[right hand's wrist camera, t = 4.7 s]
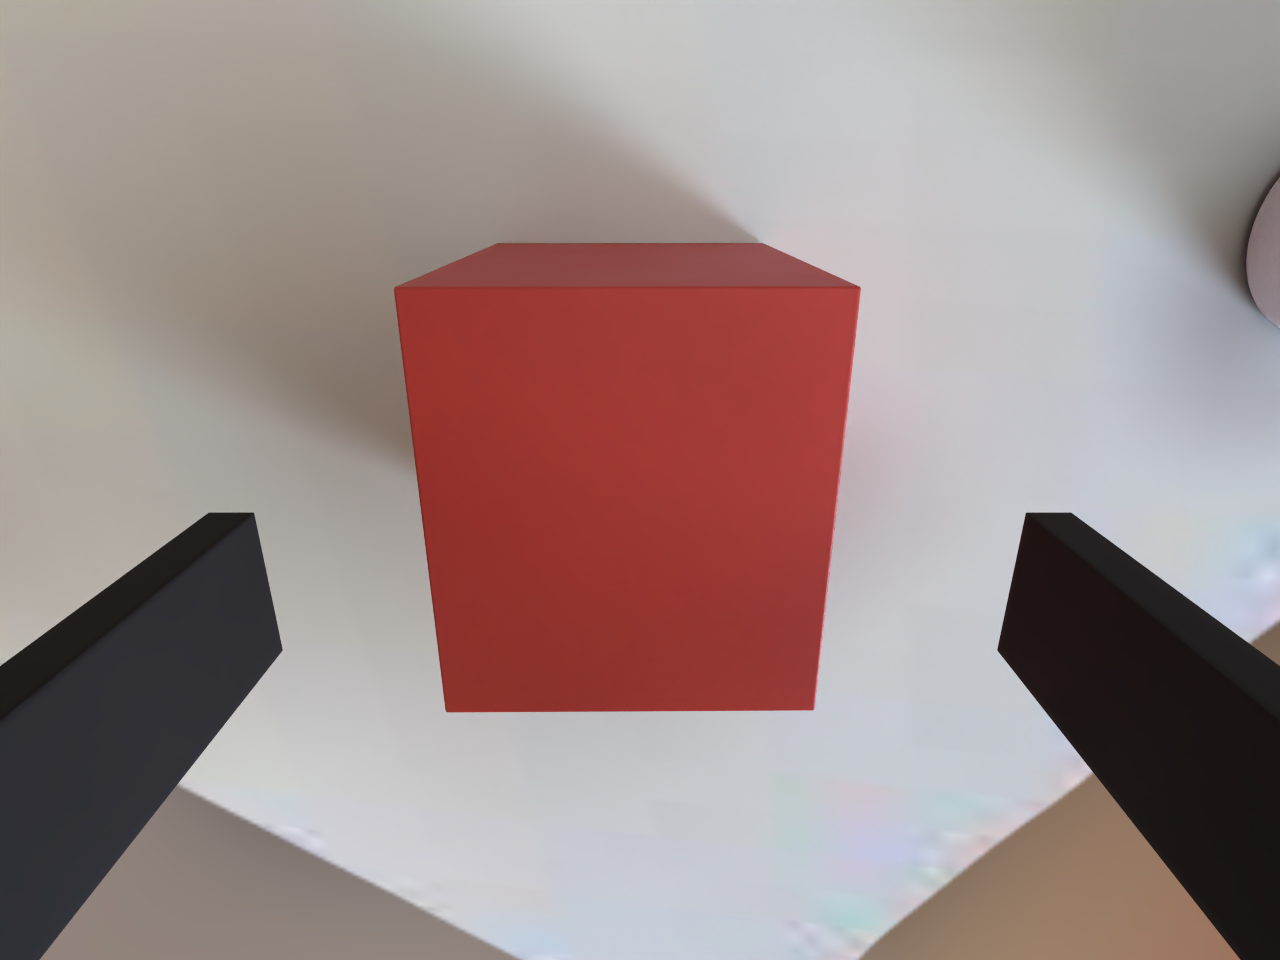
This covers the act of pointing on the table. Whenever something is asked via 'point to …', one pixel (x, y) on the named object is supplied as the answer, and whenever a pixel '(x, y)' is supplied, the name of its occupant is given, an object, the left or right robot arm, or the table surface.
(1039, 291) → the table surface
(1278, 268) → the coffee cup
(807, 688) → the brick
